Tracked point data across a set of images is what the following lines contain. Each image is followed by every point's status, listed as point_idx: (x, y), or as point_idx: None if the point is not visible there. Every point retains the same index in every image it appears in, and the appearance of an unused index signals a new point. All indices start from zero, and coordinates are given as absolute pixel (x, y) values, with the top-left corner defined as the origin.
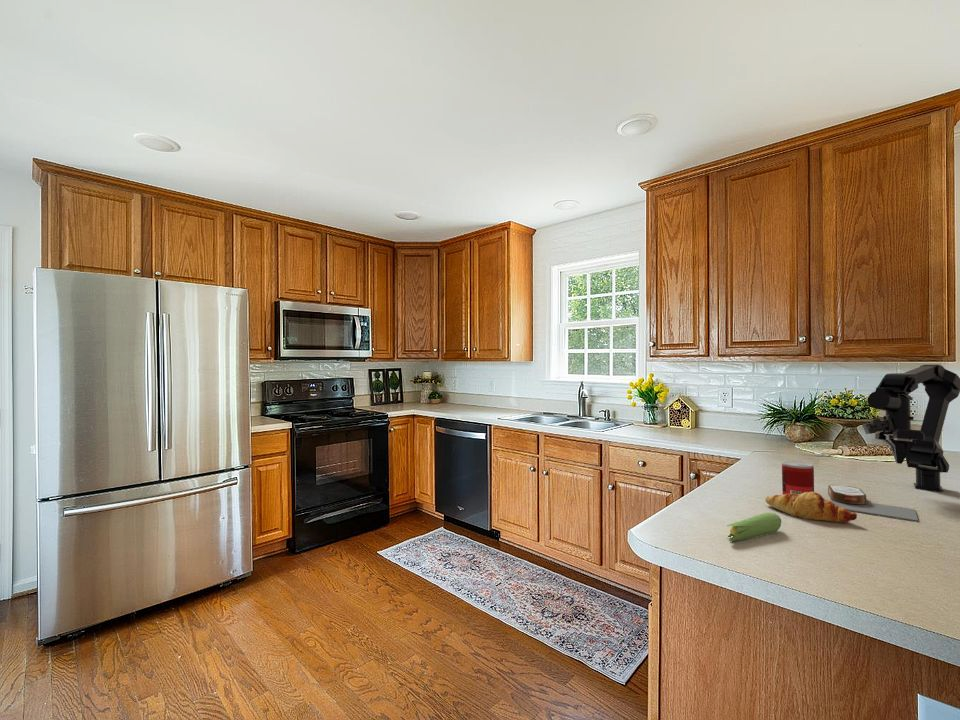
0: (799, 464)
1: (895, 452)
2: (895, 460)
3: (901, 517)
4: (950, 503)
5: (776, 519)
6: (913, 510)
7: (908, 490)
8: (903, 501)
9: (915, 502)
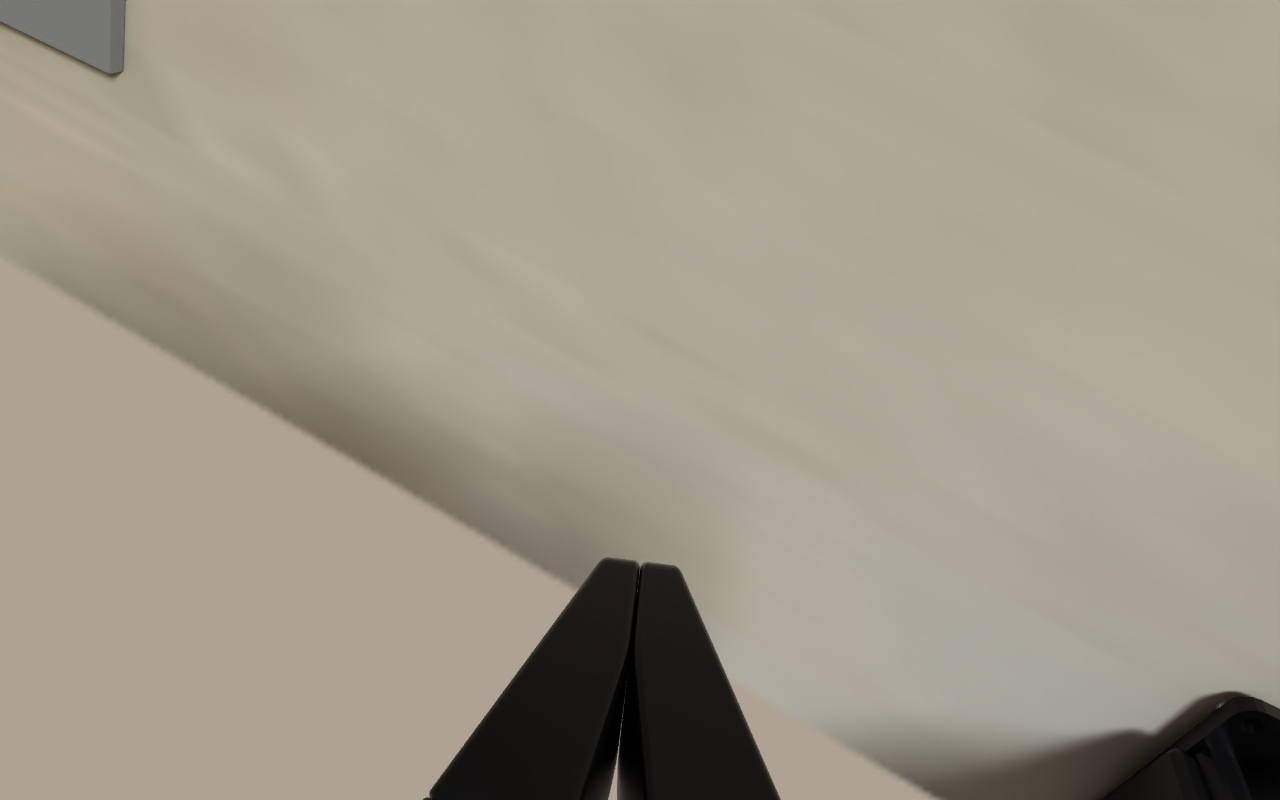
0: None
1: (468, 796)
2: (684, 608)
3: None
4: None
5: None
6: (42, 27)
7: (1138, 561)
8: (509, 171)
9: (511, 289)
